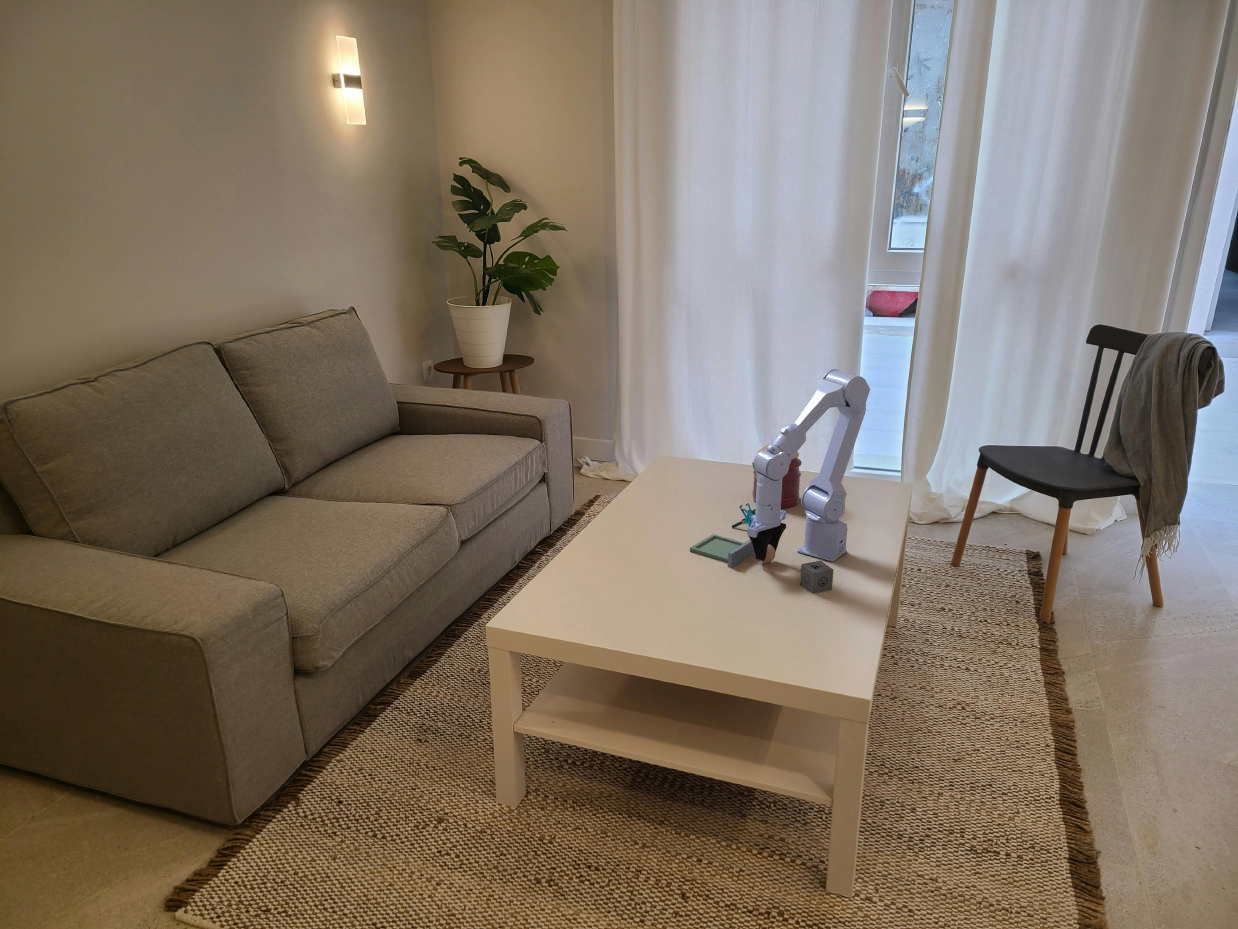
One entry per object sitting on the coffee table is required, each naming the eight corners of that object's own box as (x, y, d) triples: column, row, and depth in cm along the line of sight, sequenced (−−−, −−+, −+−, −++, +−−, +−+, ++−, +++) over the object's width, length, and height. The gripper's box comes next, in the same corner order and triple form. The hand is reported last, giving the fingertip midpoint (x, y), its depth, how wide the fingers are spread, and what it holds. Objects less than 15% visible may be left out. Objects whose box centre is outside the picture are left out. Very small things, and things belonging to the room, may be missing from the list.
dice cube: (800, 584, 192) (801, 564, 191) (819, 580, 194) (820, 560, 192) (812, 594, 188) (813, 573, 186) (831, 590, 190) (833, 569, 188)
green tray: (749, 548, 211) (750, 544, 211) (727, 562, 203) (727, 558, 203) (713, 537, 217) (713, 534, 217) (689, 551, 209) (689, 547, 209)
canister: (748, 506, 238) (751, 445, 232) (755, 491, 249) (758, 432, 244) (796, 511, 234) (800, 449, 228) (801, 495, 246) (805, 436, 240)
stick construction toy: (756, 530, 216) (743, 502, 218) (732, 542, 219) (720, 514, 221) (771, 527, 226) (759, 500, 228) (749, 538, 230) (737, 512, 231)
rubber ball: (778, 561, 203) (779, 543, 202) (769, 567, 200) (770, 550, 198) (761, 556, 206) (762, 539, 204) (752, 562, 202) (752, 545, 201)
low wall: (761, 548, 211) (761, 535, 210) (731, 567, 201) (731, 553, 199) (757, 547, 212) (758, 534, 210) (727, 566, 201) (728, 552, 200)
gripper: (768, 489, 206) (765, 541, 210) (737, 507, 195) (734, 561, 199) (795, 495, 201) (791, 548, 206) (764, 514, 191) (761, 569, 195)
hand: (765, 555), depth 202 cm, fingers closed on rubber ball, 4 cm apart
